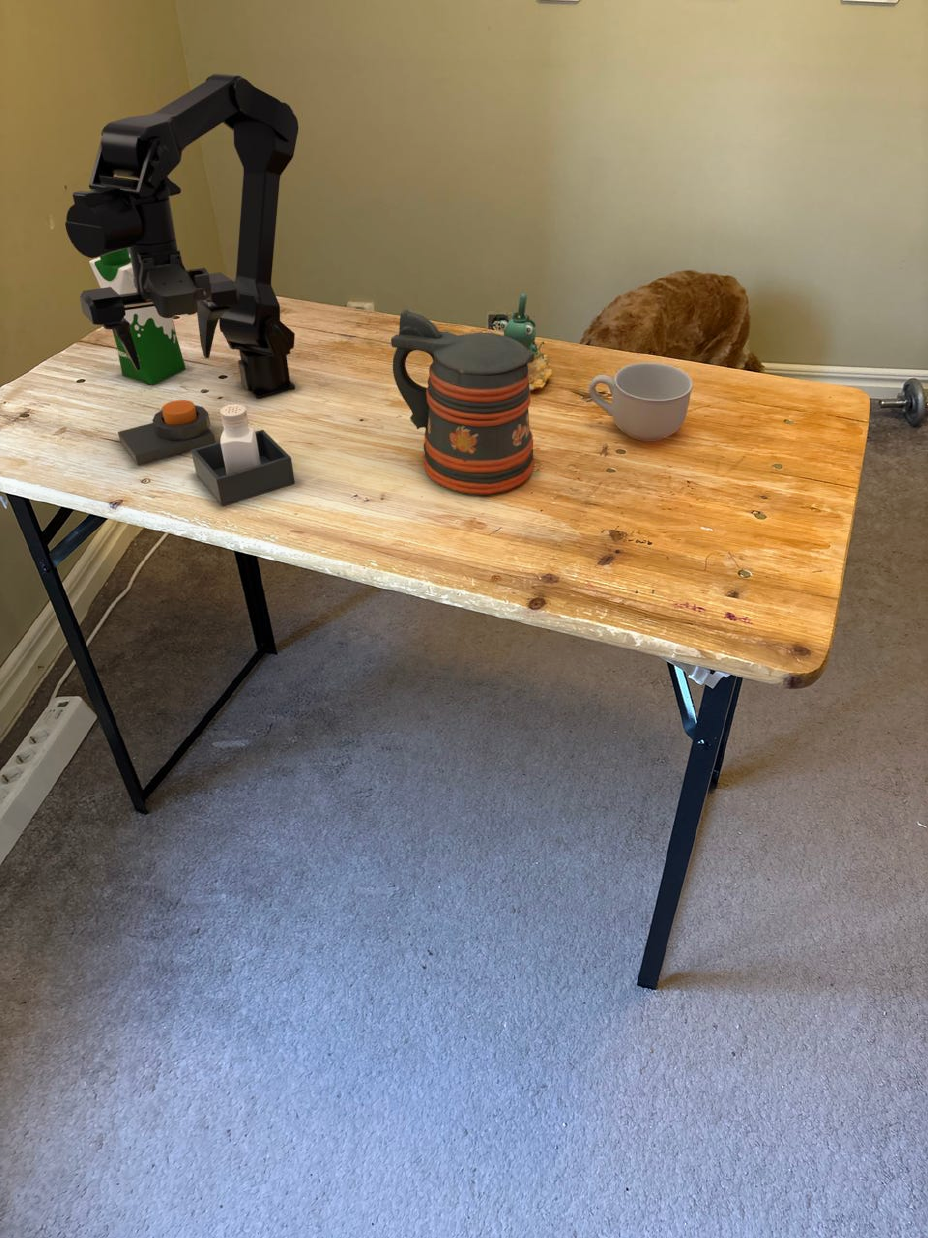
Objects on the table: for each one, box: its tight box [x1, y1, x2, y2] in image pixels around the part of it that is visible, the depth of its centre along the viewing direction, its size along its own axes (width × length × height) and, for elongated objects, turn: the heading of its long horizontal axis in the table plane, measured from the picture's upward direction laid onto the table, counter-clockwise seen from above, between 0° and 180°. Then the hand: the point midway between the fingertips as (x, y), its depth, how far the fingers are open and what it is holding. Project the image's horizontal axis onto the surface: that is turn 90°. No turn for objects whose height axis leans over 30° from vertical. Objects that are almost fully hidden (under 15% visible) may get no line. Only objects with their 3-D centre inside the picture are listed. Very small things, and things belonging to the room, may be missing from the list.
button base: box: [117, 404, 216, 467], centre depth 126 cm, size 12×8×4 cm
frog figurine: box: [496, 292, 553, 392], centre depth 137 cm, size 10×18×15 cm, turn 144°
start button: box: [161, 399, 197, 425], centre depth 125 cm, size 4×4×2 cm
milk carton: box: [89, 248, 187, 386], centre depth 138 cm, size 9×9×20 cm
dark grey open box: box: [190, 429, 296, 508], centre depth 118 cm, size 10×9×4 cm
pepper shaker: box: [219, 403, 261, 474], centre depth 116 cm, size 4×4×10 cm
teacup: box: [588, 361, 694, 442], centre depth 126 cm, size 14×11×8 cm
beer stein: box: [390, 309, 535, 496], centre depth 115 cm, size 19×15×20 cm
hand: (172, 363), depth 120 cm, fingers open, 9 cm apart
